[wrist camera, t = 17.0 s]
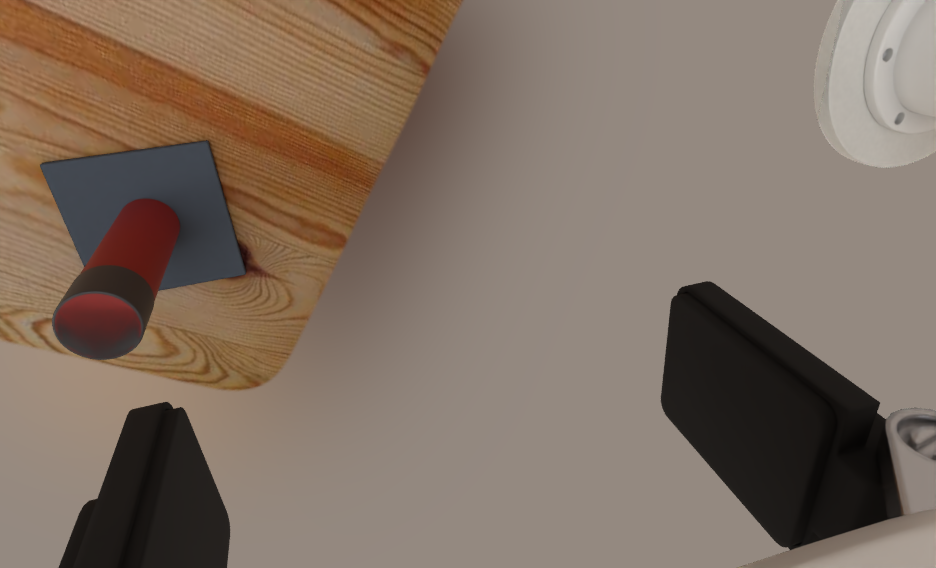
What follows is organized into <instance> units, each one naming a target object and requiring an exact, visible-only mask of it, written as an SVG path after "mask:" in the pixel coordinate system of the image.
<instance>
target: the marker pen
mask: <svg viewBox="0 0 936 568" xmlns="http://www.w3.org/2000/svg"><path fill="white" fill-rule="evenodd" d="M179 231H180V223H179V219H178V217H177V215H176V213H175V212H174V211H173V210H172V209H171V208H170V207H169V206H168V205H166V204H164V203H163V202H160V201H158V200H154V199H145V198H144V199H137V200H134V201H132V202H130V203H128V204H127V205H126V206H125V207H124V208H123V209H122V210H121V212H120V213H119V215H118V216H117V218H116V219H115V221H114V223H113V224H112V226H111V227H110V229H109V230H108V232H107V233H106V235H105V236H104V238H103V240H102V241H101V243H100V244H99V246H98V247H97V249H96V250H95V252H94V253H93V255H92V257H91V258H90V260H89V261H88V263H87V264H86V266H85V267H84V269H83V270H82V272H81V274H80V275H79V276H78V277H77V278H76V279H75V280H74V282H73V283H72V285H71V286H70V288H69V289H68V291H67V292H66V294H65V296H64V297H63V299H62V300H61V302H60V303H59V305H58V306H57V308H56V310H55V311H54V314H53V318H52V326H53V330H54V333H55V335H56V337H57V339H58V340H59V341H60V343H61V344H62V345H63V346H64V347H66V348H67V349H68V350H70V351H71V352H73V353H75V354H77V355H79V356H82V357H86V358H90V359H97V360H106V359H114V358H118V357H121V356H123V355H125V354H127V353H129V352H131V351H132V350H133V349H134V348H136V347H137V345H138V344H139V343H140V341H141V340H142V337H143V335H144V332H145V329H146V326H147V324H148V321H149V318H150V315H151V313H152V310H153V307H154V301H155V298H156V295H157V292H158V290H159V287H160V284H161V281H162V279H163V276H164V273H165V270H166V268H167V265H168V262H169V259H170V257H171V254H172V251H173V249H174V246H175V243H176V240H177V238H178V235H179Z"/></svg>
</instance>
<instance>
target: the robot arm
mask: <svg viewBox="0 0 936 568" xmlns="http://www.w3.org/2000/svg"><path fill="white" fill-rule="evenodd" d="M864 92H865V97H866V102H867V106H868V108H869V110H870V112H871V114H872V116H873V117H874V118H875V119H876V121H877V122H878V123H879V124H880V125H882V126H884V127H885V128H887V129H889V130H893V131H897V132H900V133H904V134H919V133H925V132H929V131H931V130H934V129H936V0H892V2H891V3H890V4H889V6H888V8H887V9H886V11H885V13H884V15H883V16H882V18H881V20H880V22H879V24H878V26H877V29H876V31H875V33H874V36H873V38H872V41H871V44H870V48H869V51H868V55H867V58H866V65H865V72H864ZM661 403H662V408H663V410H664V412H665V414H666V416H667V417H668V418H669V419H670V420H671V422H672V423H673V424H674V425H675V426H676V427H677V428H678V430H679V431H680V432H681V433H682V434H683V436H684V437H685V438H686V439H687V440H688V441H689V443H690V444H691V445H692V446H693V447H694V448H695V449H696V451H697V452H698V453H699V454H700V455H701V456H702V458H703V459H704V460H705V461H706V462H707V463H708V464H709V466H710V467H711V468H712V469H713V470H714V471H715V472H716V474H717V475H718V476H719V477H720V478H721V479H722V481H723V482H724V483H725V484H726V485H727V486H728V488H729V489H730V490H731V491H732V492H733V493H734V494H735V495H736V497H737V498H738V499H739V500H740V501H741V502H742V504H743V505H744V506H745V507H746V508H747V509H748V511H749V512H750V513H751V514H752V515H753V516H754V517H755V519H756V520H757V521H758V522H759V523H760V524H761V526H762V527H763V528H764V529H765V530H766V531H767V532H768V534H769V535H770V536H771V537H772V538H773V539H774V541H776V543H778V544H779V545H780V546H782V547H788V548H789V549H790V550H789V551H786V552H783V553H780V554H777V555H775V556H772V557H768V558H765V559H763V560H760V561H756V562H753V563H750V564H748V565H744V566H741V567H738V568H936V411H935V410H931V409H921V408H908V409H900V410H898V411H895V412H893V413H891V414H890V416H889V417H888V418H887V419H884V418H883V417H882V416H880V415H879V414H878V413H877V410H878V408H879V404H880V402H879V401H877V400H876V399H874V398H873V397H872V396H870V395H869V394H867V393H866V392H865V391H863V390H862V389H860V388H859V387H858V386H856V385H855V384H854V383H852V382H851V381H849V380H848V379H847V378H845V377H844V376H842V375H841V374H839V373H838V372H837V371H835V370H834V369H833V368H831V367H830V366H828V365H827V364H826V363H824V362H823V361H821V360H820V359H819V358H817V357H816V356H814V355H813V354H812V353H810V352H809V351H807V350H806V349H805V348H803V347H802V346H801V345H799V344H798V343H796V342H795V341H794V340H792V339H791V338H789V337H788V336H787V335H785V334H784V333H782V332H781V331H780V330H778V329H777V328H775V327H774V326H773V325H771V324H770V323H768V322H767V321H766V320H764V319H763V318H762V317H760V316H759V315H757V314H756V313H755V312H753V311H752V310H750V309H749V308H748V307H746V306H745V305H743V304H742V303H740V302H739V301H738V300H736V299H735V298H733V297H732V296H731V295H729V294H728V293H727V292H725V291H724V290H722V289H721V288H720V287H718V286H717V285H716V284H714V283H712V282H702V283H698V284H693V285H688V286H685V287H682V288H680V289H679V291H678V293H677V296H674V297H673V299H672V301H671V309H670V317H669V327H668V337H667V346H666V355H665V365H664V374H663V383H662V393H661ZM229 539H230V523H229V518H228V514H227V511H226V509H225V506H224V504H223V502H222V499H221V497H220V494H219V492H218V489H217V487H216V484H215V482H214V479H213V477H212V475H211V472H210V470H209V467H208V465H207V462H206V460H205V457H204V455H203V453H202V450H201V448H200V445H199V443H198V440H197V438H196V436H195V433H194V431H193V428H192V426H191V423H190V421H189V419H188V416H187V414H186V412H185V410H184V409H183V408H181V407H180V408H176V409H173V407H172V405H171V404H170V403H168V402H163V403H159V404H154V405H150V406H145V407H141V408H136V409H132V410H131V411H129V413H128V415H127V418H126V421H125V423H124V426H123V429H122V432H121V434H120V437H119V440H118V443H117V446H116V448H115V451H114V454H113V457H112V460H111V462H110V465H109V468H108V471H107V474H106V476H105V479H104V482H103V485H102V488H101V491H100V493H99V496H98V499H95V500H91V501H89V502H87V503H86V504H85V505H84V506H83V508H82V510H81V511H80V513H79V516H78V519H77V521H76V524H75V526H74V529H73V531H72V534H71V537H70V540H69V542H68V544H67V547H66V550H65V553H64V555H63V558H62V560H61V563H60V565H59V568H227V560H228V550H229Z"/></svg>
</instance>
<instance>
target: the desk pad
mask: <svg viewBox="0 0 936 568" xmlns="http://www.w3.org/2000/svg"><path fill="white" fill-rule="evenodd" d="M40 167H41V169H42V172H43V174H44V176H45V178H46V181H47V183H48V185H49V188H50V190H51V192H52V194H53V197H54V199H55V201H56V204H57V206H58V208H59V210H60V213H61V215H62V217H63V220H64V222H65V224H66V226H67V229H68V231H69V233H70V235H71V238H72V240H73V242H74V245H75V247H76V249H77V251H78V254H79V256H80V258H81V261H82V263H83V265H84V267H85V266H86V264H87V263H88V261H89V260H90V258H91V257H92V255H93V253H94V252H95V250H96V249H97V247H98V246H99V244H100V243H101V241H102V240H103V238H104V236H105V235H106V233H107V232H108V230H109V229H110V227H111V226H112V224H113V223H114V221H115V219H116V218H117V216H118V215H119V213H120V212H121V210H122V209H123V208H124V207H125V206H126V205H127V204H128V203H130V202H132V201H134V200H137V199H144V198H145V199H154V200H158V201H160V202H163V203H164V204H166V205H168V206H169V207H170V208H171V209H172V210H173V211H174V212H175V213H176V215H177V217H178V219H179V223H180V231H179V235H178V238H177V240H176V243H175V246H174V249H173V251H172V254H171V257H170V259H169V262H168V265H167V268H166V270H165V273H164V276H163V279H162V281H161V284H160V287H159V290H165V289H170V288H175V287H181V286H186V285H192V284H197V283H202V282H208V281H213V280H218V279H224V278H229V277H235V276H240V275H245V274H246V270H245V266H244V263H243V260H242V256H241V253H240V249H239V246H238V242H237V239H236V235H235V232H234V228H233V225H232V221H231V218H230V214H229V211H228V208H227V204H226V201H225V197H224V194H223V190H222V187H221V183H220V180H219V176H218V173H217V169H216V166H215V162H214V159H213V155H212V152H211V149H210V145H209V142H208V140H206V141H199V142H192V143H184V144H177V145H170V146H162V147H155V148H148V149H140V150H133V151H126V152H118V153H111V154H104V155H96V156H89V157H82V158H74V159H67V160H60V161H52V162H45V163H42V164H40ZM159 290H158V291H159Z"/></svg>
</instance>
